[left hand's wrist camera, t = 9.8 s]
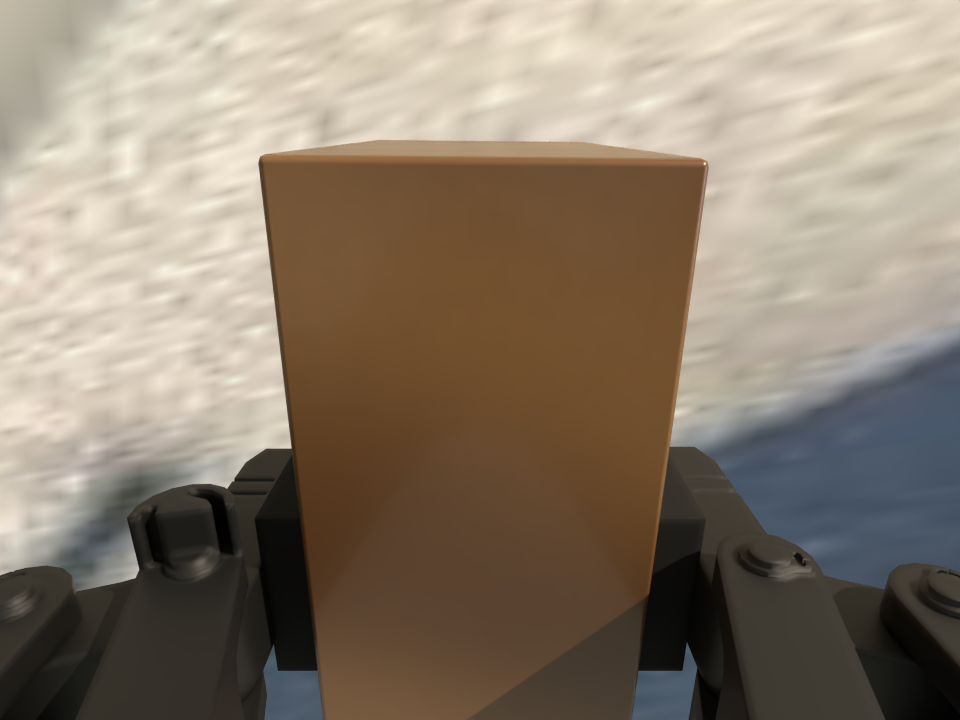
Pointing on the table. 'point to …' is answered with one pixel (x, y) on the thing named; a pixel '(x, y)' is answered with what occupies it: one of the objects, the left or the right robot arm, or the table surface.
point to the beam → (480, 414)
